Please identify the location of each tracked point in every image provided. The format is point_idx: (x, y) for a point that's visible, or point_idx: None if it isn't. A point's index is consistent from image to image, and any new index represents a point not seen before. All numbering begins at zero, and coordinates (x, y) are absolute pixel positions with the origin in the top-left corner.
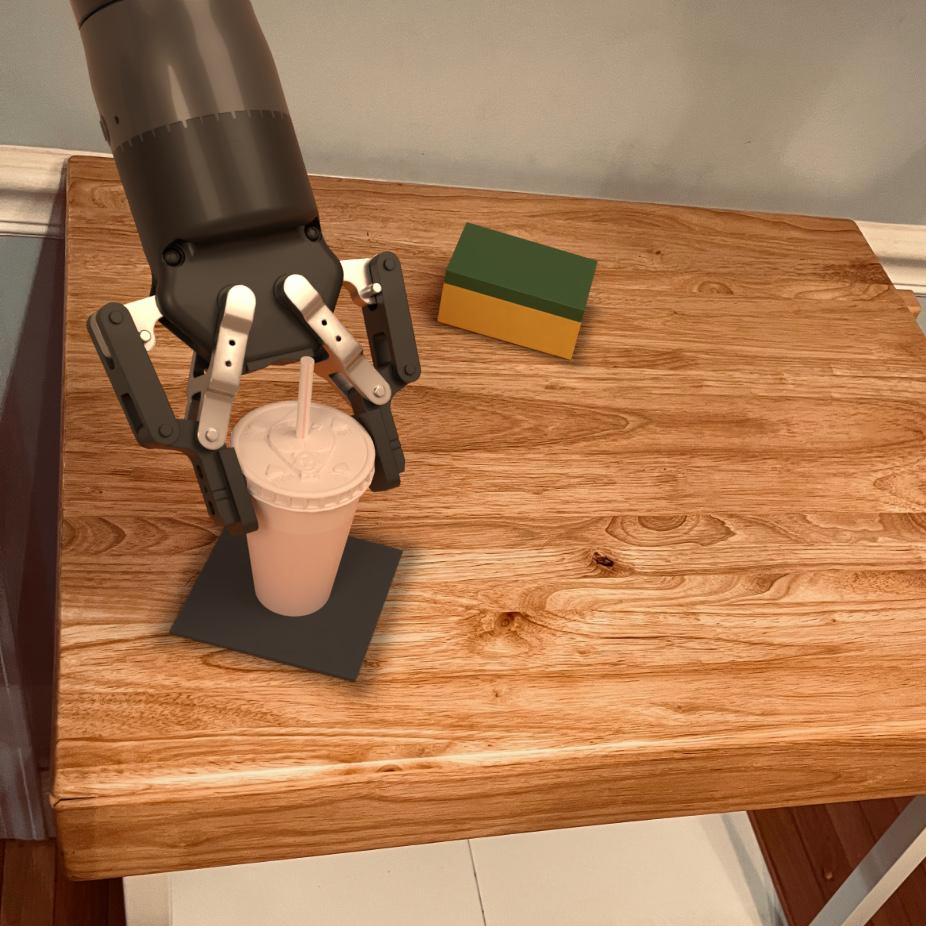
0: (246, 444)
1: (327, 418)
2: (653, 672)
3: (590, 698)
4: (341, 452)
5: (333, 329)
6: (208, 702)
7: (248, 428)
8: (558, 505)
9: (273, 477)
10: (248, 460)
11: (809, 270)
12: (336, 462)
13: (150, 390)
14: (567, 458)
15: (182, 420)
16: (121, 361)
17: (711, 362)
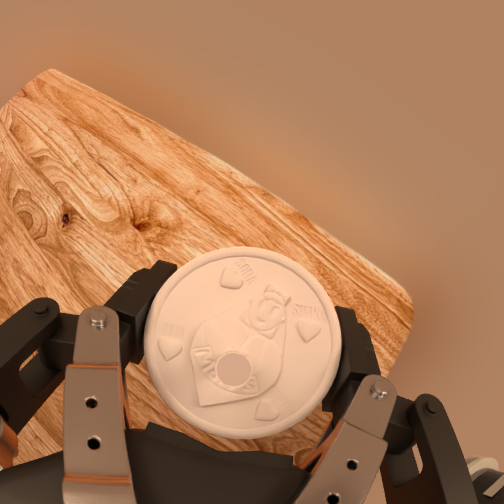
0: (303, 390)
1: (173, 367)
2: (123, 151)
3: (161, 158)
4: (207, 304)
5: (87, 420)
6: (343, 304)
7: (279, 414)
8: (43, 270)
9: (316, 320)
10: (321, 364)
11: None
12: (227, 293)
13: (447, 452)
14: (13, 294)
15: (399, 424)
16: (470, 487)
17: None
